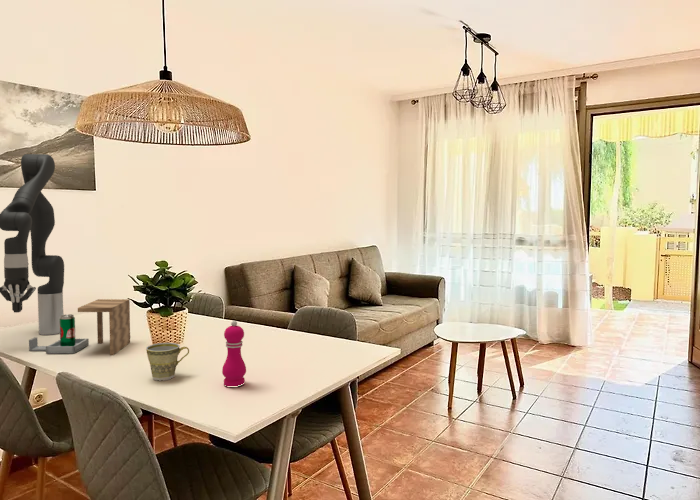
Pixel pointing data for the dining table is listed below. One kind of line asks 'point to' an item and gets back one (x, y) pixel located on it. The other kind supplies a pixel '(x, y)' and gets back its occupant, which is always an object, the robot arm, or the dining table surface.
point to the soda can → (67, 330)
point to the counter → (112, 321)
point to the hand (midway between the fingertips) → (17, 312)
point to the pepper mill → (234, 356)
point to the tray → (58, 346)
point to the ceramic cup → (164, 359)
